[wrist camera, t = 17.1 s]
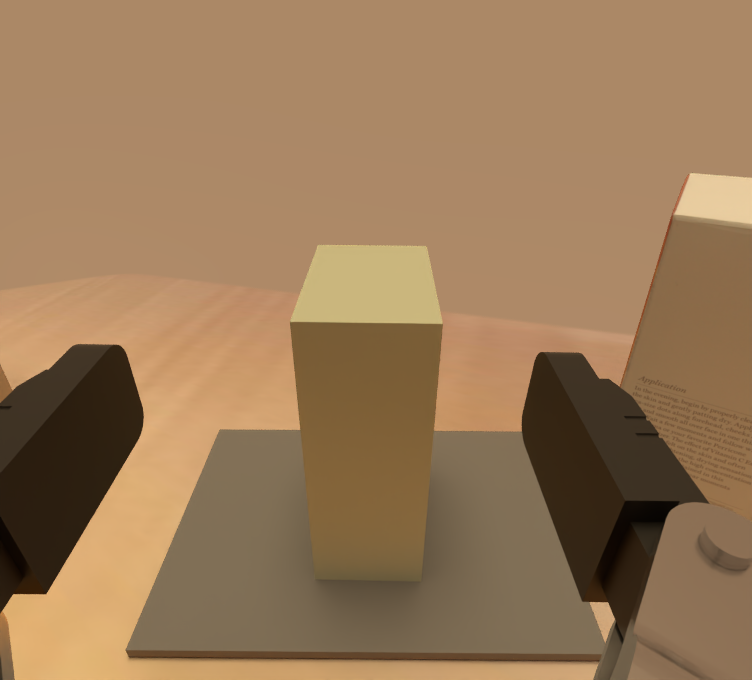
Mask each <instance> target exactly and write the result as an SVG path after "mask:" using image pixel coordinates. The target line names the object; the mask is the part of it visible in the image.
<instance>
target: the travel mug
mask: <svg viewBox="0 0 752 680" xmlns="http://www.w3.org/2000/svg"><path fill="white" fill-rule="evenodd" d="M11 392H12V389H11V387H10V385H9V382H8V380H7V378H6V376H5V374H4V372H3V369H2V367H1V365H0V403H1V402H2V401H3V400H4V399H5V398H6V397H7V396H8V395H9V394H10V393H11Z"/></svg>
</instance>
